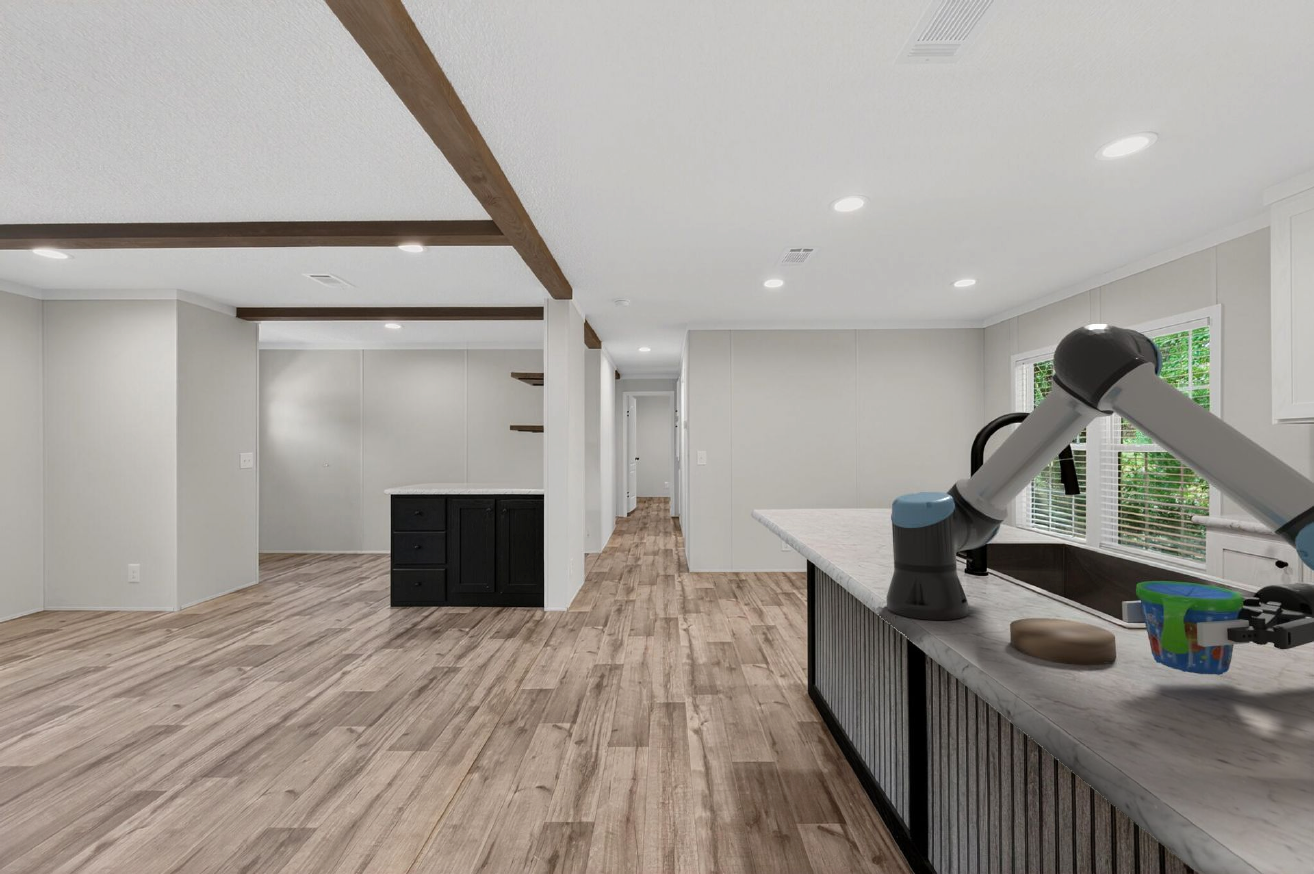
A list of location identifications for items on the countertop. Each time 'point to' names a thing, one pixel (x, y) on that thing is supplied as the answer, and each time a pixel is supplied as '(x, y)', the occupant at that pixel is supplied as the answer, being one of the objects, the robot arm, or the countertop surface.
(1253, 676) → the countertop surface
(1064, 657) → the walnut pedestal
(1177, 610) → the snack cup
